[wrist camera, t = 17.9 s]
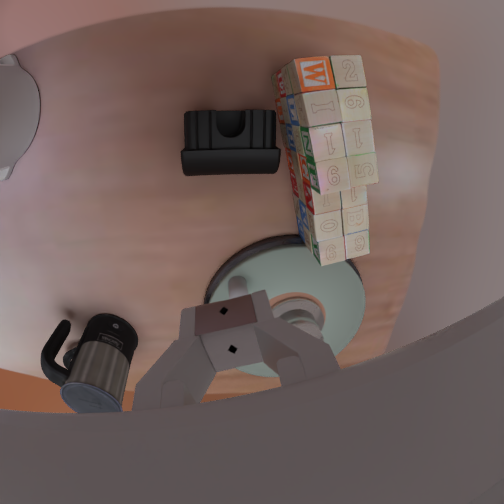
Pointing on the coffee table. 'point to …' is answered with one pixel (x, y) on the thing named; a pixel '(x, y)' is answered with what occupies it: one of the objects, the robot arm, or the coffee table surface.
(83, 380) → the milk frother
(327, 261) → the stack of blocks
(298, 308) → the cover
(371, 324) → the coffee table surface
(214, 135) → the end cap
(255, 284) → the turntable
